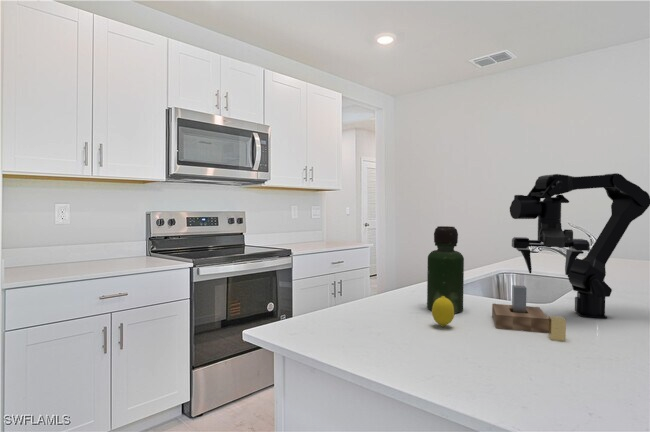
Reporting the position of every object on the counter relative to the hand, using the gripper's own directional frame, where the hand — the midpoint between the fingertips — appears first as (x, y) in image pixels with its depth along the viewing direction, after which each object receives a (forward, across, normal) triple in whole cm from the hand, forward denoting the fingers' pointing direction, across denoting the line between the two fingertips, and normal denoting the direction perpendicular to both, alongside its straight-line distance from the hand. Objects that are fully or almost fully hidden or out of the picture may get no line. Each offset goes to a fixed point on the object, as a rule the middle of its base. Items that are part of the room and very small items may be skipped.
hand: (548, 274), depth 115 cm
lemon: (+12, -28, -20) cm, 37 cm away
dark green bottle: (+12, -28, -2) cm, 31 cm away
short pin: (+12, -2, -21) cm, 24 cm away
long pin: (+12, -9, -11) cm, 19 cm away
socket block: (+12, -9, -11) cm, 19 cm away
